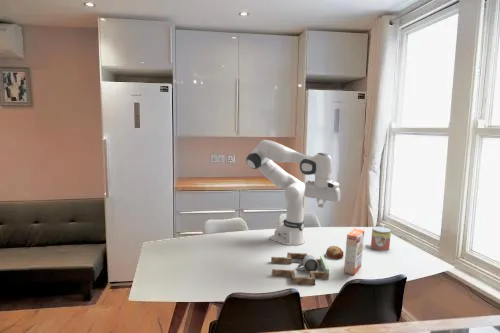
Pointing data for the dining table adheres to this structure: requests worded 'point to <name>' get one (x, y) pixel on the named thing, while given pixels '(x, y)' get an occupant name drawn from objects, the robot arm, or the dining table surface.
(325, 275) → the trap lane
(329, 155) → the robot arm
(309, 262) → the ceramic mug
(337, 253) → the bread roll
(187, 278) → the dining table surface
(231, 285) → the dining table surface
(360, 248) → the cracker box
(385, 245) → the canned food
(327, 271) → the sage end wall
